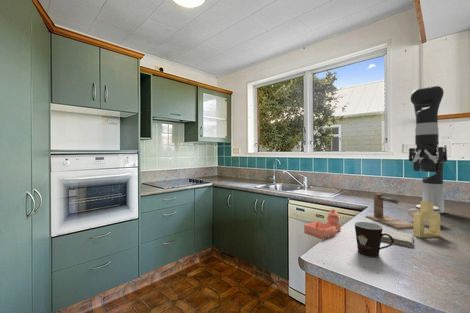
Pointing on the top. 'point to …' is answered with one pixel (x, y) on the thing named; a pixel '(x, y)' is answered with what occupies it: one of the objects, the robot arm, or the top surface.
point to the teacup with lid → (426, 221)
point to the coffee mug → (369, 238)
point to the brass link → (419, 218)
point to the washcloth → (398, 238)
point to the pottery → (324, 226)
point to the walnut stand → (384, 219)
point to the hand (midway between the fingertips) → (426, 171)
